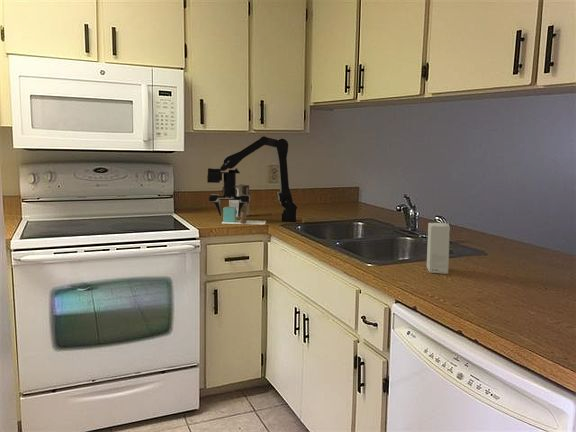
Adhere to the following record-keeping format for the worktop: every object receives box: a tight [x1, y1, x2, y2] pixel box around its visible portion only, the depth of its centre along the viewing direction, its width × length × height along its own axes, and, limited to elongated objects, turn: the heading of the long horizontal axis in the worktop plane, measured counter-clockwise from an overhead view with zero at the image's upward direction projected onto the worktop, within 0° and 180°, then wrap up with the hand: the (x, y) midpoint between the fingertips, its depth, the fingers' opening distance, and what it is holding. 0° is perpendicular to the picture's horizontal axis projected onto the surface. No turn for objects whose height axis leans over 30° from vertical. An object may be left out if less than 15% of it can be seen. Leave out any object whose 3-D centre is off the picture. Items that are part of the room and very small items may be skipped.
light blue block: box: [222, 206, 237, 222], centre depth 235 cm, size 5×5×7 cm
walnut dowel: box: [240, 212, 247, 225], centre depth 231 cm, size 3×3×6 cm
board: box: [221, 219, 267, 226], centre depth 235 cm, size 20×10×1 cm, turn 88°
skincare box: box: [426, 222, 451, 275], centre depth 157 cm, size 8×6×15 cm
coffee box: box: [228, 183, 250, 218], centre depth 253 cm, size 9×6×16 cm
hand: (229, 216), depth 236 cm, fingers open, 8 cm apart
